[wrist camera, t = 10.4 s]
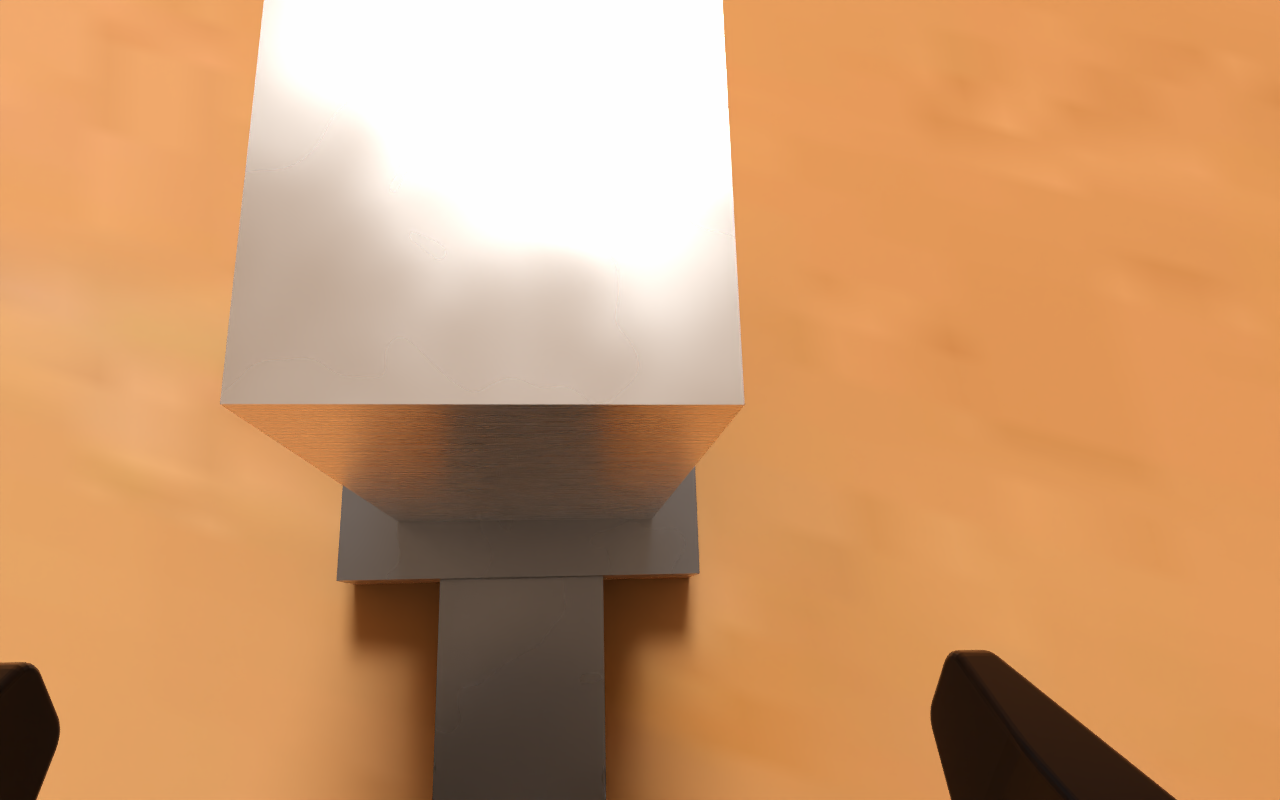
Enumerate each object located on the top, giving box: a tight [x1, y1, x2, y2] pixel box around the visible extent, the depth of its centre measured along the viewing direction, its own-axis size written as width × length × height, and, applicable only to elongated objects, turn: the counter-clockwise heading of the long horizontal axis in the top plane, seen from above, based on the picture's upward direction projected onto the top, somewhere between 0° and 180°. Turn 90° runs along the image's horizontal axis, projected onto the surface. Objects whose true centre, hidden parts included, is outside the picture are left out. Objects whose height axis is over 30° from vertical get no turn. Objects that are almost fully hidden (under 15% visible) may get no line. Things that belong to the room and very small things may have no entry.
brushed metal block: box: [220, 0, 744, 521], centre depth 13 cm, size 5×5×9 cm
